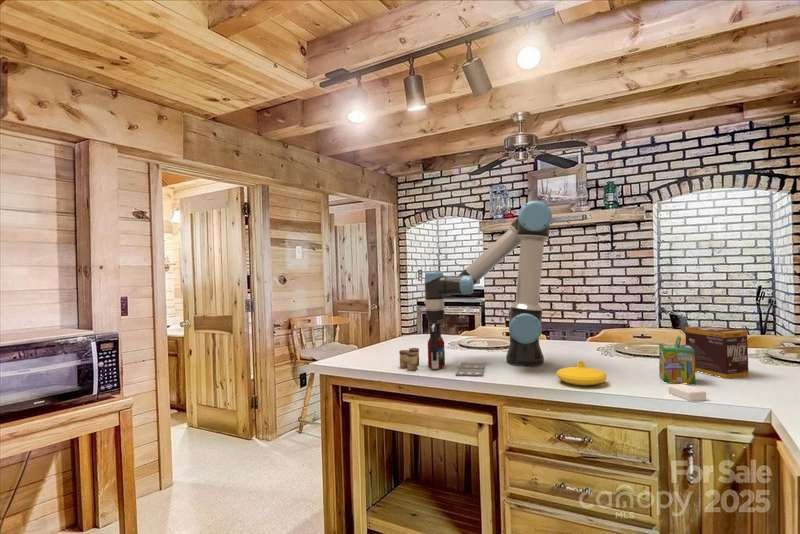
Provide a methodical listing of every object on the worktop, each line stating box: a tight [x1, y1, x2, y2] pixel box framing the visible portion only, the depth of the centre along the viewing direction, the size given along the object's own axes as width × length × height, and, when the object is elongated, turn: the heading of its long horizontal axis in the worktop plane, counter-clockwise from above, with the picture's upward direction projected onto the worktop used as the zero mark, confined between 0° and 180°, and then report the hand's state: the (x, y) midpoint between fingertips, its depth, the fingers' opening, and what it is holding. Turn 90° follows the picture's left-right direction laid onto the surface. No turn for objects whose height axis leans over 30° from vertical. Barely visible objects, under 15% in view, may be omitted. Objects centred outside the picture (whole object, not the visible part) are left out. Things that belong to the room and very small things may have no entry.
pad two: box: [458, 362, 486, 370], centre depth 178 cm, size 10×10×1 cm
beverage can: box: [427, 336, 446, 370], centre depth 178 cm, size 7×7×12 cm
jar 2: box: [408, 347, 420, 367], centre depth 185 cm, size 4×4×7 cm
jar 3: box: [406, 352, 419, 372], centre depth 176 cm, size 4×4×7 cm
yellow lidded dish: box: [556, 361, 608, 386], centre depth 149 cm, size 16×16×7 cm
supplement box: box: [684, 325, 750, 379], centre depth 156 cm, size 10×15×16 cm
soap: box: [667, 383, 707, 402], centre depth 130 cm, size 9×6×3 cm, turn 7°
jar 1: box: [399, 349, 410, 370], centre depth 180 cm, size 4×4×7 cm
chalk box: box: [658, 335, 697, 385], centre depth 148 cm, size 9×9×15 cm
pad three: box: [455, 367, 485, 378], centre depth 167 cm, size 10×10×1 cm
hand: (436, 366), depth 178 cm, fingers closed on beverage can, 7 cm apart
